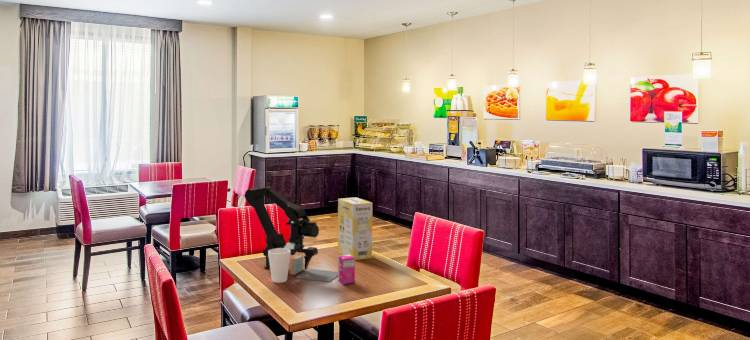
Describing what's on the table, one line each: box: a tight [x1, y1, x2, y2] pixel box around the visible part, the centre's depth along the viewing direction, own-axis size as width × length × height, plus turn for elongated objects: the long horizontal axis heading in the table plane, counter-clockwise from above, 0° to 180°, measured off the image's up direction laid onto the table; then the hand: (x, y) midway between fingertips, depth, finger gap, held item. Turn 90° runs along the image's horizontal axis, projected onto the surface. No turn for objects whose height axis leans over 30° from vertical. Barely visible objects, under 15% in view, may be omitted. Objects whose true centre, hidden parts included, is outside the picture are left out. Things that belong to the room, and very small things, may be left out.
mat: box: [295, 268, 338, 283], centre depth 238 cm, size 16×14×1 cm
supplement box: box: [337, 254, 356, 286], centre depth 229 cm, size 6×6×12 cm
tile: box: [289, 255, 304, 275], centre depth 244 cm, size 2×8×6 cm, turn 162°
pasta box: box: [337, 196, 373, 261], centre depth 273 cm, size 18×10×28 cm, turn 28°
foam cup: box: [268, 248, 292, 284], centre depth 230 cm, size 10×9×13 cm
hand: (296, 268), depth 244 cm, fingers open, 9 cm apart
